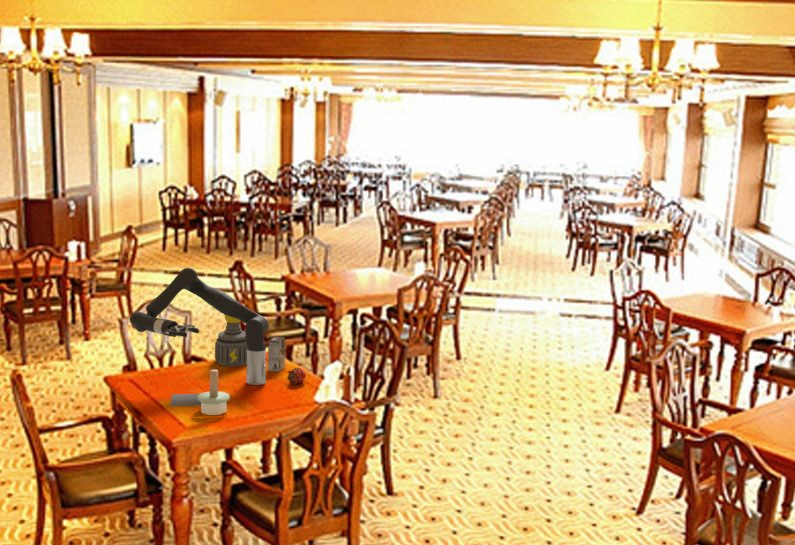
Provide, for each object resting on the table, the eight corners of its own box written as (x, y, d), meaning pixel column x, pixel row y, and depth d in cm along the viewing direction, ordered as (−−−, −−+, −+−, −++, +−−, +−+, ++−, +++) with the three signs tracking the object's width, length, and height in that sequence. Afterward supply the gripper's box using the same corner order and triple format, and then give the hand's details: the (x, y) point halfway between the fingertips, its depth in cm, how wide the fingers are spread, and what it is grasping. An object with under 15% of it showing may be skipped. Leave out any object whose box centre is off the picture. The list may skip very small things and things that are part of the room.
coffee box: (273, 365, 456) (274, 336, 453) (285, 366, 455) (285, 337, 452) (267, 370, 447) (268, 340, 444) (279, 371, 446) (279, 341, 443)
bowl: (225, 406, 392) (226, 394, 391) (226, 415, 381) (226, 402, 380) (201, 407, 389) (201, 394, 388) (201, 416, 379) (201, 403, 378)
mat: (206, 394, 407) (206, 393, 406) (206, 406, 391) (206, 405, 391) (171, 395, 403) (171, 394, 403) (170, 407, 388) (170, 406, 388)
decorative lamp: (251, 367, 452) (252, 311, 446) (215, 367, 447) (215, 311, 442) (249, 356, 470) (250, 303, 464) (214, 357, 465) (214, 303, 460)
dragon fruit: (290, 389, 424) (298, 386, 435) (304, 381, 422) (311, 377, 434) (282, 375, 424) (289, 371, 436) (296, 366, 423) (303, 363, 434)
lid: (229, 393, 392) (229, 365, 390) (230, 403, 379) (230, 375, 376) (197, 393, 389) (197, 366, 387) (197, 404, 376) (197, 375, 373)
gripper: (155, 322, 400) (182, 328, 393) (176, 316, 413) (202, 322, 406) (155, 338, 402) (182, 344, 395) (176, 331, 414) (202, 337, 407)
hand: (192, 332), depth 400 cm, fingers open, 8 cm apart
